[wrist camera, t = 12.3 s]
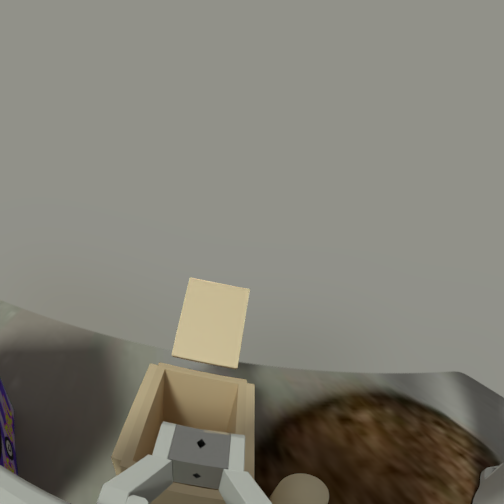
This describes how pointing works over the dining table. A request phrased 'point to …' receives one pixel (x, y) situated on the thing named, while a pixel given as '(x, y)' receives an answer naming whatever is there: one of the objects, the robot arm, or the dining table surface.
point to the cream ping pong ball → (300, 490)
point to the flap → (211, 323)
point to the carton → (186, 420)
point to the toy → (7, 432)
